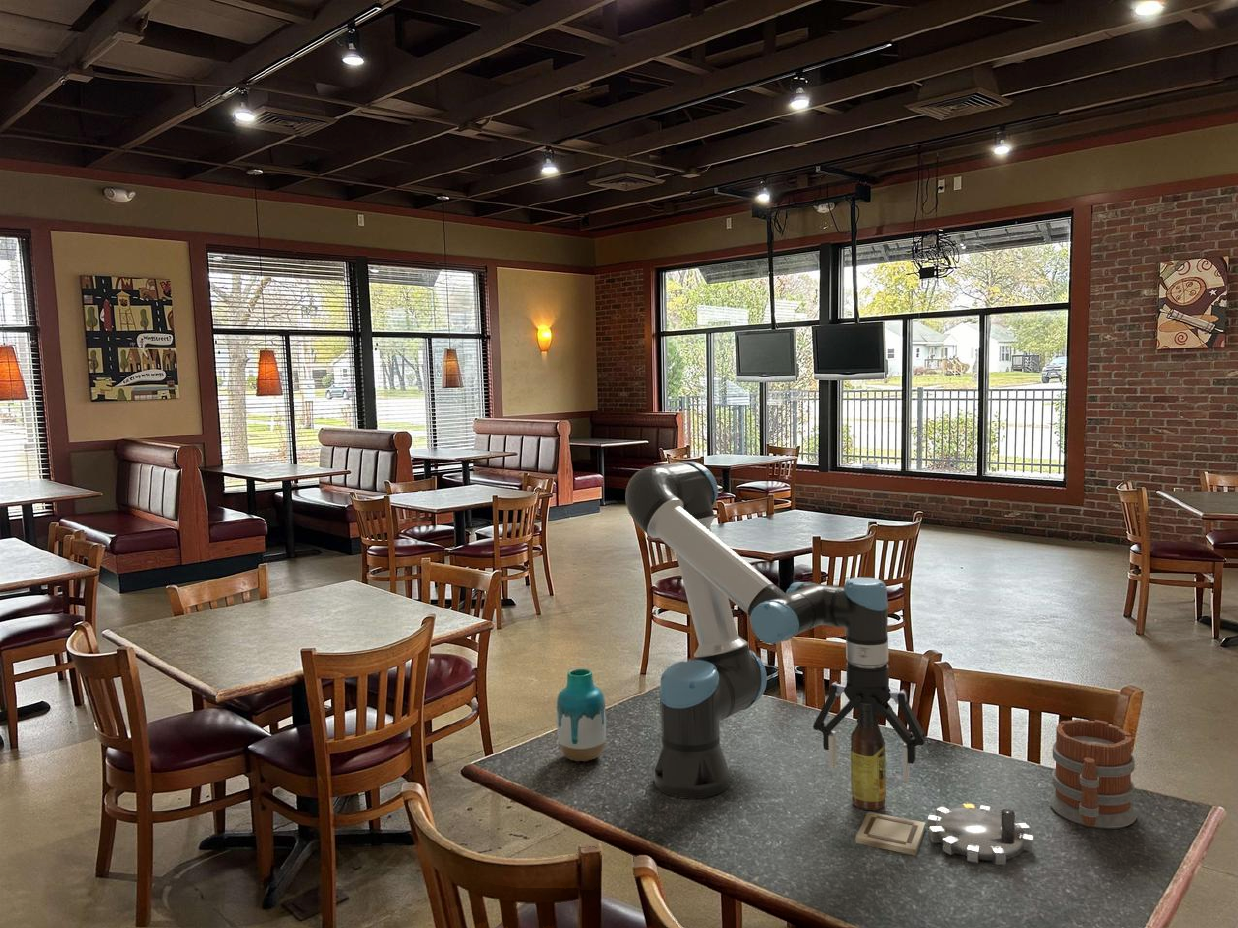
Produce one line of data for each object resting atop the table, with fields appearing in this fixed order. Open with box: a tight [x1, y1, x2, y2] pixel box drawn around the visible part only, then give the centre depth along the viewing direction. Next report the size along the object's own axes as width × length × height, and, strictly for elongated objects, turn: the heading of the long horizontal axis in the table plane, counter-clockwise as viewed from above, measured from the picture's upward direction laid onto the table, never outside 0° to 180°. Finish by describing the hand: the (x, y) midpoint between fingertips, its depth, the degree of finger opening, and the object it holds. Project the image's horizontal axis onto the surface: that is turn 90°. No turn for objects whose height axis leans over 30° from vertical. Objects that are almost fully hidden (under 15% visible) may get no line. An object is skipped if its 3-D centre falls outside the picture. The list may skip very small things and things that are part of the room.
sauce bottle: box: [850, 703, 887, 811], centre depth 165 cm, size 7×6×20 cm
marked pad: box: [854, 811, 926, 856], centre depth 154 cm, size 10×10×1 cm
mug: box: [1048, 719, 1138, 830], centre depth 157 cm, size 14×19×15 cm
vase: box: [556, 667, 607, 762], centre depth 189 cm, size 11×11×19 cm
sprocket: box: [927, 803, 1034, 866], centre depth 151 cm, size 17×16×7 cm
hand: (868, 772), depth 165 cm, fingers open, 13 cm apart
